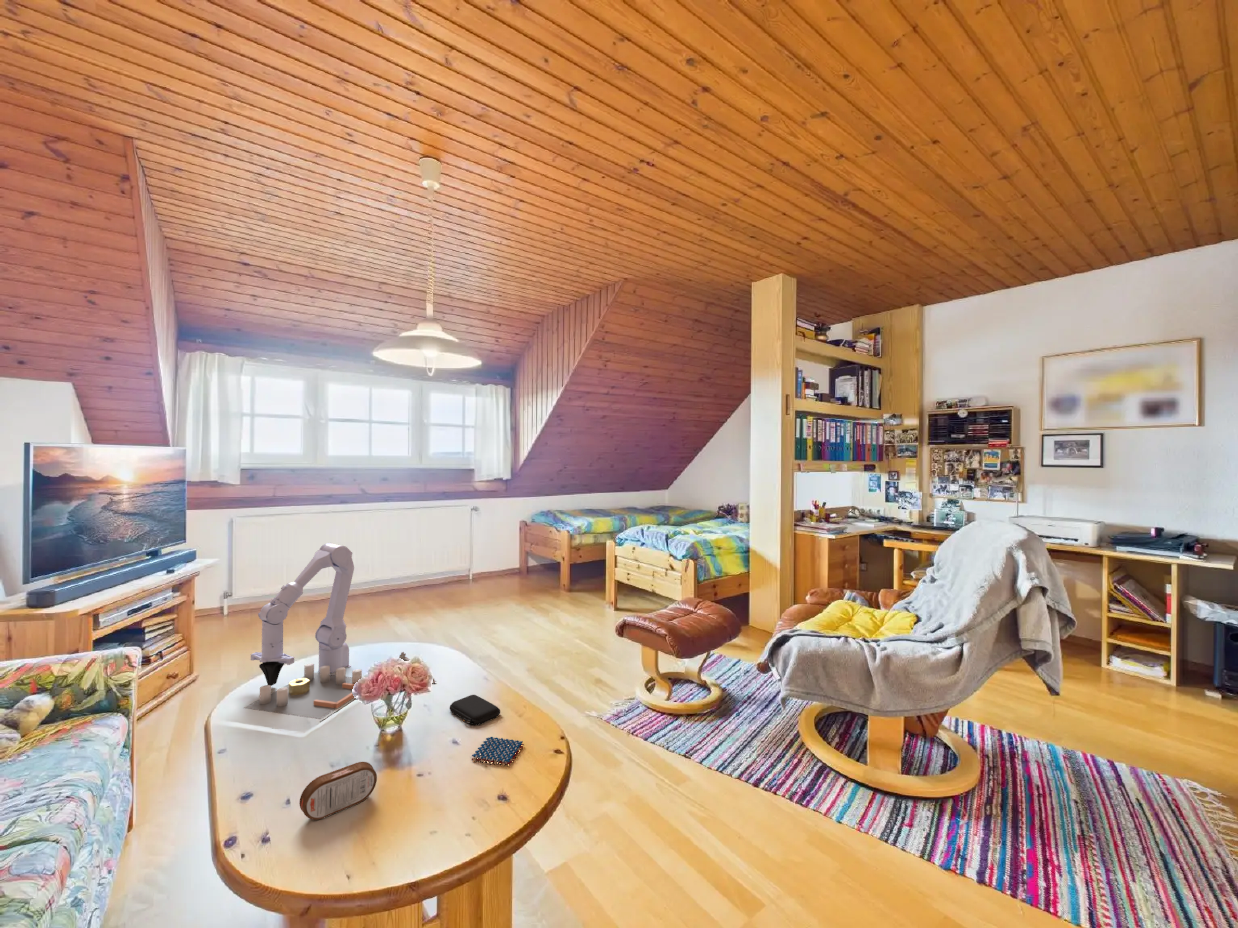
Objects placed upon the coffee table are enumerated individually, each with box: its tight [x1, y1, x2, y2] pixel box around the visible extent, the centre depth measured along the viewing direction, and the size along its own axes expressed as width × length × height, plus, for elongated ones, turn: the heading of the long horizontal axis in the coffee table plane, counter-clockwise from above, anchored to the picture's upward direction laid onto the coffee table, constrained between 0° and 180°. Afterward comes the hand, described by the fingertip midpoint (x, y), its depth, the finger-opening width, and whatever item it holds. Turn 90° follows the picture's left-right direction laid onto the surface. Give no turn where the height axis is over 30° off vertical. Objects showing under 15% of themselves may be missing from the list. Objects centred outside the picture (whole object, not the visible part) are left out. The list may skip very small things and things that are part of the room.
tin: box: [299, 761, 378, 821], centre depth 116 cm, size 15×3×8 cm, turn 135°
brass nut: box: [288, 677, 310, 695], centre depth 168 cm, size 6×5×3 cm
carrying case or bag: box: [449, 694, 501, 726], centre depth 158 cm, size 11×3×15 cm
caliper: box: [398, 651, 437, 684], centre depth 184 cm, size 20×1×6 cm, turn 55°
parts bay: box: [314, 683, 355, 709], centre depth 165 cm, size 13×8×1 cm, turn 168°
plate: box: [243, 663, 363, 723], centre depth 167 cm, size 26×26×6 cm
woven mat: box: [471, 736, 525, 766], centre depth 138 cm, size 10×11×2 cm
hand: (272, 684), depth 170 cm, fingers closed
